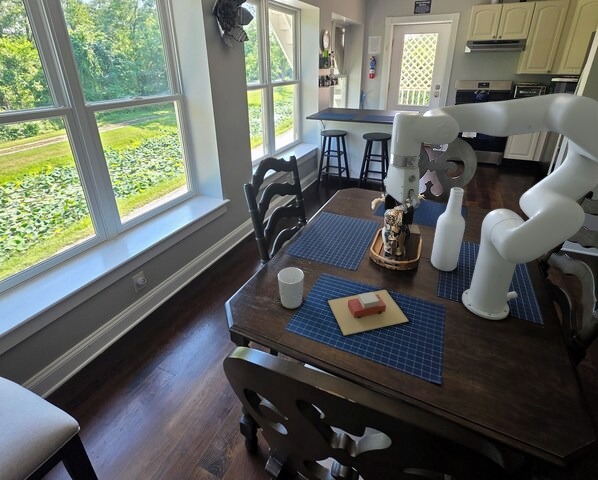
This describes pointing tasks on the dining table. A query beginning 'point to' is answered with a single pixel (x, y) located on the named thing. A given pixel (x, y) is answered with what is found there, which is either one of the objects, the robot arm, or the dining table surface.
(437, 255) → the alcohol
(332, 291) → the dining table surface
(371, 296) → the toy car
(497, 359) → the dining table surface
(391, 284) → the dining table surface
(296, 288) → the white cup
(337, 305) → the mat
